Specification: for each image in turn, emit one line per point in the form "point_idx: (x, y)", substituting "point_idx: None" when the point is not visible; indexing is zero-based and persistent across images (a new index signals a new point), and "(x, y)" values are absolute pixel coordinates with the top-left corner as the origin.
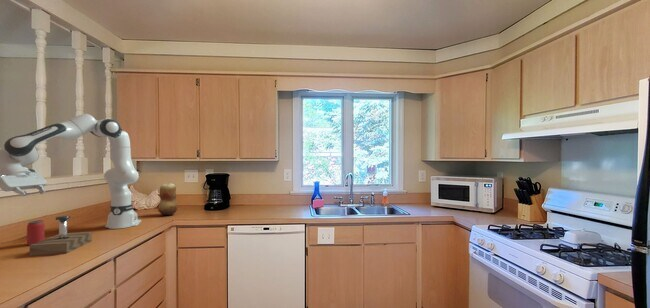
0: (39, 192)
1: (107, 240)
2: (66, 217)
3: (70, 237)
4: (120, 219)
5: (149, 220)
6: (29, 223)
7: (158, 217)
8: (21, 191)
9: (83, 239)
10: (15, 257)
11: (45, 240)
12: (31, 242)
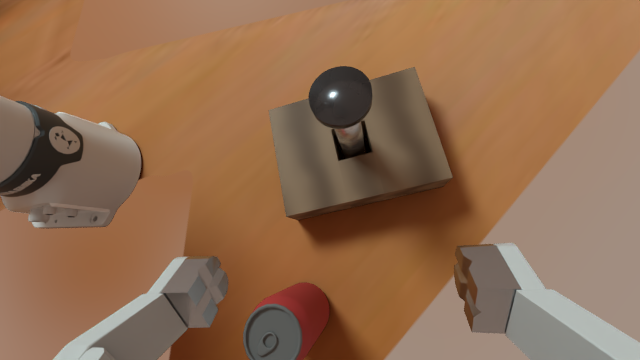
0: (214, 305)
1: (278, 79)
2: (350, 68)
3: None
4: (103, 142)
5: None
6: (301, 346)
7: None
8: (558, 298)
9: None
10: (462, 221)
11: (385, 178)
12: (326, 304)
